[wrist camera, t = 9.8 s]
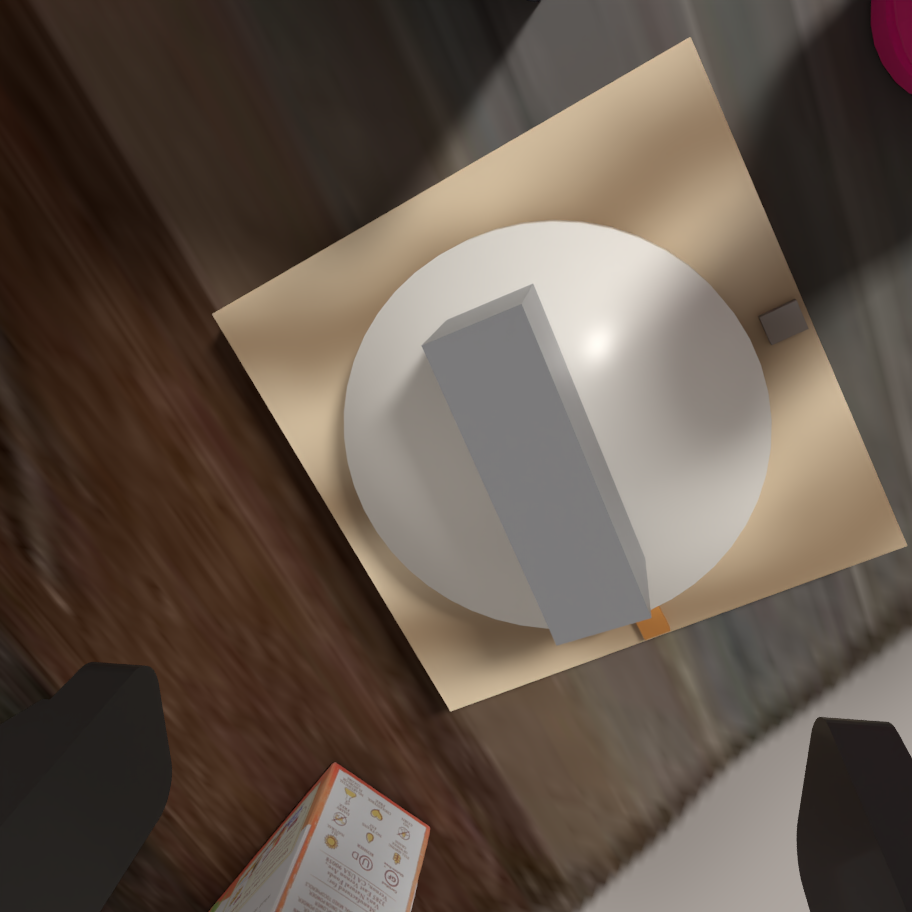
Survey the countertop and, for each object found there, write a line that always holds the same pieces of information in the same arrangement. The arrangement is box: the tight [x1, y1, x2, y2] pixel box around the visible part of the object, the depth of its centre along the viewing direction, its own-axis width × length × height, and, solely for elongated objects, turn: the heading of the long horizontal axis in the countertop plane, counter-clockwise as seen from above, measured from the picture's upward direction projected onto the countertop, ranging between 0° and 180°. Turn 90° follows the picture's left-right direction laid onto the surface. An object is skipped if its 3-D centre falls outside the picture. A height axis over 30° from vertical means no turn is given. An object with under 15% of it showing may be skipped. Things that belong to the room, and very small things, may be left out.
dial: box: [344, 220, 772, 646], centre depth 27 cm, size 14×14×6 cm
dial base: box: [212, 37, 907, 711], centre depth 30 cm, size 18×18×2 cm
